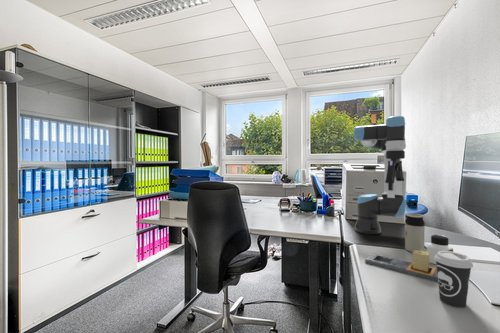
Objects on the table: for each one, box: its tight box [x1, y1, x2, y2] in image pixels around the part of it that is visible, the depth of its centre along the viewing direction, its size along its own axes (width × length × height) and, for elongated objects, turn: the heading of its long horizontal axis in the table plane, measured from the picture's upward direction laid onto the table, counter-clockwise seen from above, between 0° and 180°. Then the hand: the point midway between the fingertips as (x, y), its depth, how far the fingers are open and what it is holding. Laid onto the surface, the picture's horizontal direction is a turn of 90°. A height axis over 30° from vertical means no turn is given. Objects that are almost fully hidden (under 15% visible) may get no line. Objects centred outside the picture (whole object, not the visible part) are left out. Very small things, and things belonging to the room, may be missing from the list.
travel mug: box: [404, 212, 426, 253], centre depth 123 cm, size 8×8×18 cm
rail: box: [364, 252, 438, 283], centre depth 103 cm, size 9×26×2 cm, turn 46°
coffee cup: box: [434, 251, 474, 308], centre depth 79 cm, size 10×10×15 cm
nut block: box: [412, 249, 431, 274], centre depth 99 cm, size 5×5×8 cm
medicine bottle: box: [426, 234, 454, 266], centre depth 108 cm, size 7×7×12 cm
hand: (395, 196), depth 114 cm, fingers open, 13 cm apart
